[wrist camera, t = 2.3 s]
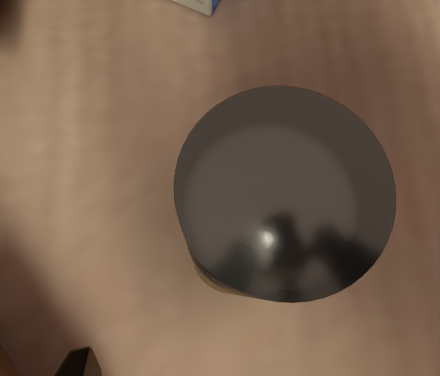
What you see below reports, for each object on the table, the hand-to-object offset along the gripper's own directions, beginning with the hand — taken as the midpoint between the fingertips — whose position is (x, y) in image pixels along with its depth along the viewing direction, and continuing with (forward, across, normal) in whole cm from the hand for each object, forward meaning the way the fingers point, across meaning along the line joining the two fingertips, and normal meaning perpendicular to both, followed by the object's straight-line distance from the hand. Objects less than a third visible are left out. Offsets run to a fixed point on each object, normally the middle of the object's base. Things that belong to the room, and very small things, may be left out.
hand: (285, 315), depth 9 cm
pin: (+8, 0, +5) cm, 10 cm away
